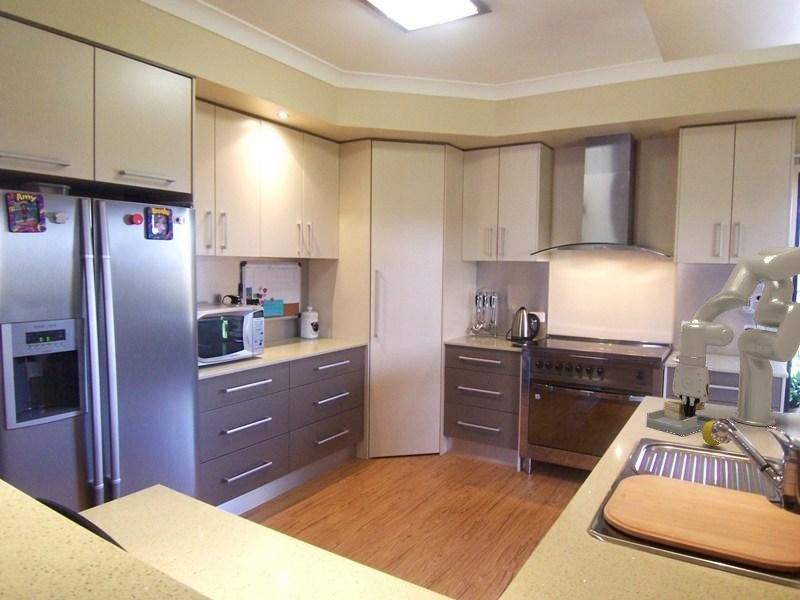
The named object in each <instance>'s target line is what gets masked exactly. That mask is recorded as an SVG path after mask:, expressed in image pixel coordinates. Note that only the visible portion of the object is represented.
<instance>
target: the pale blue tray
mask: <svg viewBox="0 0 800 600" xmlns="http://www.w3.org/2000/svg"><path fill="white" fill-rule="evenodd" d="M718 419H719V418H715V417H714V418H713V417H710V416H706V415H702V414H698V413H695V415H694V417H690V418H689V417H686V418H685V419H681V420H675V419H671V418H667V417H664V408H661V409H658V410H653V411H650V412H647V413H646V427H647V428H650V427H652V428H651V429H654V428H656V429H655V430H657V429H660V430H659V431H661V430H664V431H668V432H672V433H675V434H679V435H682V436H683V435H686V434H690V433H693V432H696V431H699V430H702V429H703V427H704V425H705V424H706V423H707V422H710V421H712V420H714V421H716V420H718ZM664 431H663V432H664ZM668 432H667V433H668ZM699 432H700V431H699ZM672 433H671V434H672ZM696 433H697V432H696ZM675 434H674V435H675ZM693 434H694V433H693ZM679 435H678V436H679ZM690 435H691V434H690ZM682 436H681V437H682ZM686 436H687V435H686ZM683 437H684V436H683Z"/></svg>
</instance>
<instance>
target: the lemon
mask: <svg viewBox="0 0 800 600" xmlns="http://www.w3.org/2000/svg"><path fill="white" fill-rule="evenodd" d="M714 422H715V421H714V420H712V421H710V422H707V423H706V424H705V425H704V427H703V429H702V431H701V435H702V439H703V441H704V442H705V443H706V444H707V445H709V446H710V447H711V446H714V447H715V446H719V445H721V443H719V442H717V441H716V440H714V439H713V438H712V436H711V426H712V424H713V423H714Z"/></svg>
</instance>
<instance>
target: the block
mask: <svg viewBox="0 0 800 600" xmlns="http://www.w3.org/2000/svg"><path fill="white" fill-rule="evenodd" d="M663 409H664V417H667V418H671V419H675V420H681V419H685V418H686V417H685V413H684V404H683V402H680V401H677V400H673V399H672V400H667V401H664V402H663Z"/></svg>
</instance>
